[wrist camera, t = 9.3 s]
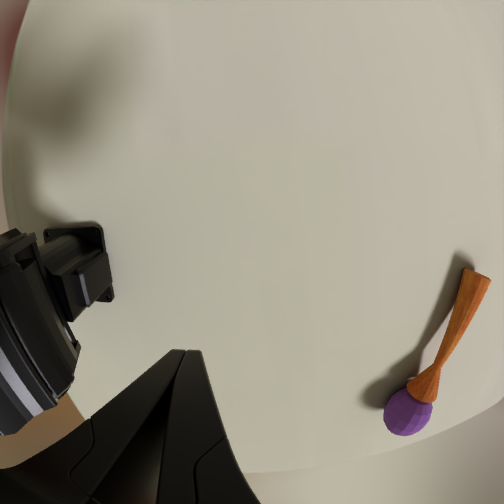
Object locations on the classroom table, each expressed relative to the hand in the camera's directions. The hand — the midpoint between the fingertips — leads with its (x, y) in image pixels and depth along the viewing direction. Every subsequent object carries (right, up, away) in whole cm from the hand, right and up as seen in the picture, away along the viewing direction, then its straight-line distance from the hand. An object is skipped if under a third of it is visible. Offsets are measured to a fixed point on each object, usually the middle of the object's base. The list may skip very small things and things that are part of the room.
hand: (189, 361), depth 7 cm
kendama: (+21, -8, +17) cm, 28 cm away
